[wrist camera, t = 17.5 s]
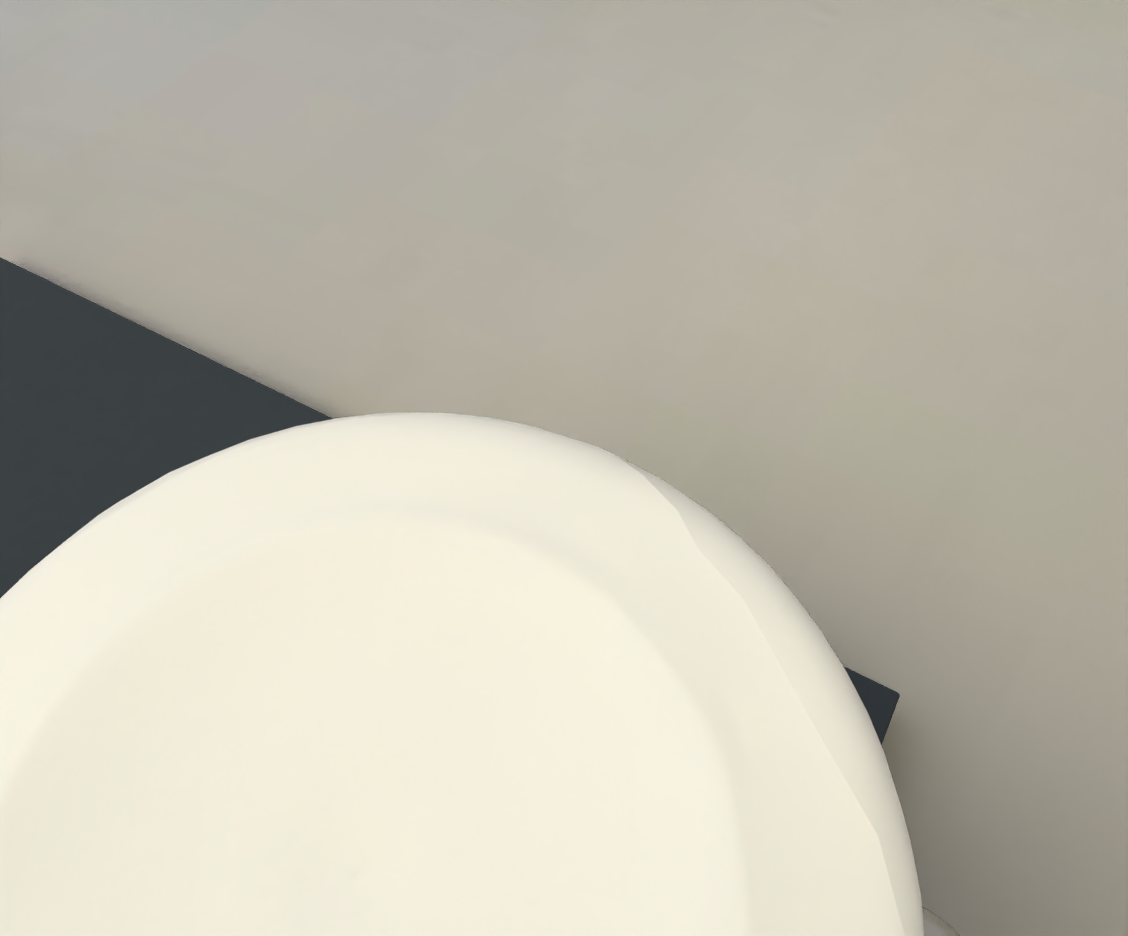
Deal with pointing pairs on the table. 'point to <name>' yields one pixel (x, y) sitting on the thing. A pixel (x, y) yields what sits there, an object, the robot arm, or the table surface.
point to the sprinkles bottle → (431, 707)
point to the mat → (127, 423)
